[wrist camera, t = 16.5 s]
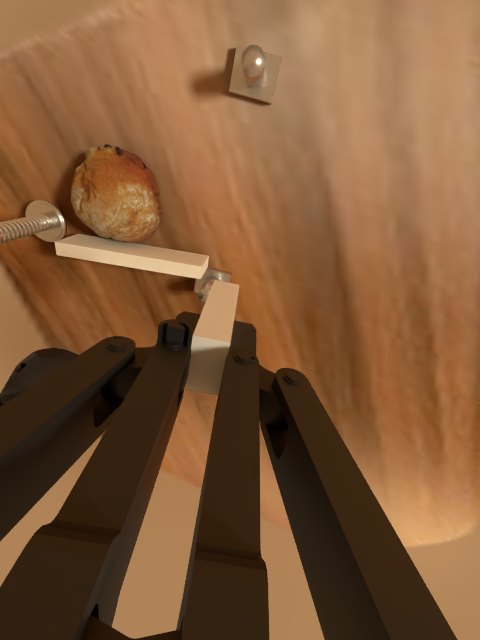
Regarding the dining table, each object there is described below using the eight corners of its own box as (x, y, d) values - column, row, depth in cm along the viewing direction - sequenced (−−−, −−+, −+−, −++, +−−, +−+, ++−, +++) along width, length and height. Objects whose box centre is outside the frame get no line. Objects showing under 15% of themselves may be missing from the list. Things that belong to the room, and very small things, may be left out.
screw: (29, 213, 37) (53, 190, 35) (59, 245, 39) (83, 224, 37) (-77, 233, 25) (-48, 200, 24) (-28, 278, 27) (1, 249, 26)
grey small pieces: (195, 289, 40) (186, 304, 36) (237, 47, 28) (232, 24, 24) (226, 297, 40) (221, 313, 36) (281, 60, 28) (284, 39, 24)
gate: (207, 267, 37) (200, 279, 33) (79, 245, 37) (56, 255, 33) (208, 255, 37) (201, 266, 32) (78, 233, 36) (54, 241, 32)
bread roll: (101, 215, 40) (75, 253, 35) (71, 132, 32) (32, 166, 27) (173, 223, 40) (156, 263, 35) (161, 142, 32) (137, 179, 27)
